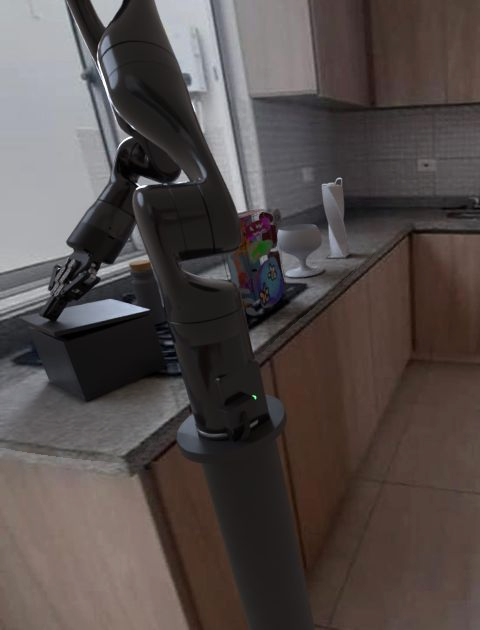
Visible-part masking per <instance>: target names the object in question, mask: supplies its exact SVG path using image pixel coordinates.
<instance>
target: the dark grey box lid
mask: <svg viewBox="0 0 480 630" xmlns="http://www.w3.org/2000/svg"><path fill="white" fill-rule="evenodd" d="M39 313H40V312H37V313H32V314H27V315H22V316H18V317H17V321H18V323H21V324H24V325H26V326H27V327H30V326H31V327H33V328H35V329H38V330H40V331H42V332H45V333H47V334H49V335H52V336H54V337H57V336H61V335H65V334H69V333H74V332H78V331H82V330H86V329H90V328H94V327H99V326H103V325H107V324H111V323H115V322H119V321H123V320H128V319H132V318H136V317H140V316H144V315H148V314H151V310H149V309H146V308H142V307H139V306H138V305H134V304H132V303H131V304H130V303H127V302H124V301H121V300H118V299H117V300H116V299H113V298H108V299H102V300H97V301H92V302H87V303H83V304H78V305H73V306H66V307H65V308H64V310H63V311H62V313H61V315H60V316H59V318H58V319H57V320H56V321H52V320H49V319H46V318H44V317H41V316H40V315H39Z"/></svg>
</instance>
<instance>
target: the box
mask: <svg viewBox="0 0 480 630" xmlns="http://www.w3.org/2000/svg"><path fill="white" fill-rule="evenodd" d="M272 211H273V212H272ZM238 216H239V220H240V224H241V230H242V242H241V245H240V247H239V249H237V250H236V251H235V252H232V253H229V254H224V255H221V258H222V259H224V258H225V257H226V263H225V260H222V261H223V266H224V269H225V273H226V280H227V281H230V282H233V283H235V284H236V285H237V286H238V287H239V289H240V292H241V296H242V301H243V306H244V309H245V315H247V316H246V320H247V321H248V319H247V318H248V317H249V316H256V315H257V316H258V317H263V316H265V315H266V313H264V314H263V315H260V313H259V309H261V308H263V309H266V308H271V307H273V306H274V305H276V304H277V303H278V302H280V303H279V304H277V305H276V306H274V307H273V308H272V310H274V309H275V308H276V307H279V305H280V306H281V305H282V302H283V301H280V299H283V300H285V299H286V297H287V294H288V293H287V290H288V288H287V286H286V284H287V281H286V280H285V278H286V275H285V274H284V273H285V272H284V269H283V268H284V267H283V257H282V255H283V254H282V253H283V252H280V248H281V246H280V247H278V245H277V243H278V244H279V242H280V240H279V242H278V240H277V238H278V237H277V234H278V230H279V228H280V226H281V223H282V215H281V211H280V209H279V208H276V209H274V210H273V209H272V208H269V209H266V210H265V209H263V208H258V209H254V210H250V211H244V212H240V213H239V214H238ZM255 217H258V218H256V220H253V219H255ZM272 222H273V223H272ZM271 223H272V224H271ZM278 236H279V234H278ZM257 237H260V238H261V240H258V239H257ZM276 247H278V249H277V250H274V251H271V250H273V249H275V248H276ZM265 256H266V257H267V259H266V260H263V262H261V260H262V259H261V258H262V257H263V258H264V257H265ZM226 264H227V267H226ZM227 268H228V272H227ZM228 273H229V274H228ZM229 277H230V279H229ZM284 292H285V295H284V296H283V294H284ZM258 301H260V305H261V307H259V308H258V307H256V306H258V303H257V302H258ZM252 304H254V305H253V307H249V306H250V305H252ZM286 304H287V302H285V303H284V305H286ZM254 307H255V308H254ZM255 309H256V310H255ZM278 310H279V308H277V309H276V311H278ZM270 312H271V310H269V311H268V313H270ZM274 313H275V311H273V312H272V313H271V314H269V315H267V316H266V317H265V318H263V319H261V320H259V318H257V321H258V323H259V322H261V321H263V320H265V319H267V318H268V317H269V316H271V315H272V314H274ZM250 322H253V323H256V321H255V320H252V319H250Z"/></svg>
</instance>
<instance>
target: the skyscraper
mask: <svg viewBox="0 0 480 630" xmlns="http://www.w3.org/2000/svg"><path fill="white" fill-rule="evenodd" d="M338 180H340V184H337V181H338ZM321 194H322V195H321V196H322V202H323V208H324V212H325V216H326V220H327V224H328V243H329V252H330V254H329V255H328V256H327V257H326V259H327V260H337V259H338V260H339V259H347V257H349V256H350V255H351V252H350V249H349V242H348V235H347V228H346V225H345V221H344V219H345V218H344V217H345V199H344V198H345V197H344V188H343V178H342V177H337V178H336V179H335V180H334V182H327V183H322V184H321Z"/></svg>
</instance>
